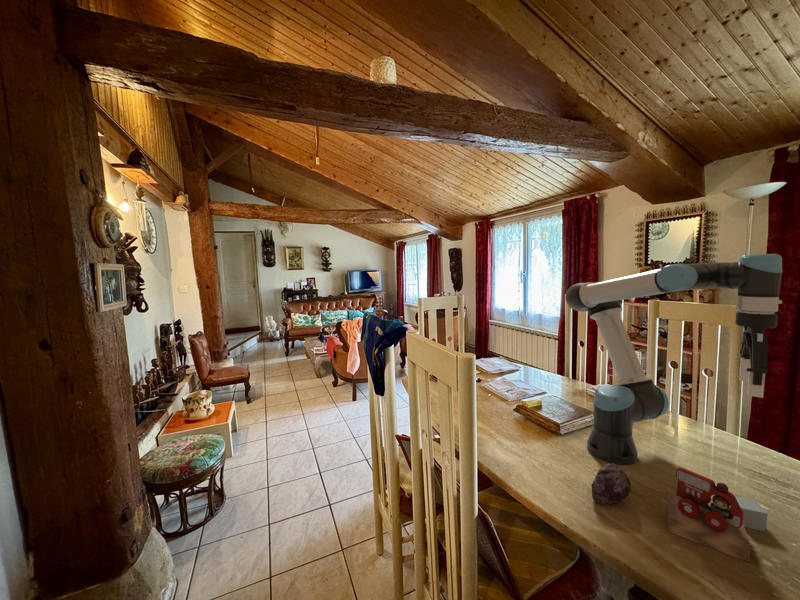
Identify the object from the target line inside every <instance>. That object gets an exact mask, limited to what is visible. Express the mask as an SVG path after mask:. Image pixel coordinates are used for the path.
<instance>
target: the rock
mask: <svg viewBox="0 0 800 600" xmlns="http://www.w3.org/2000/svg"><path fill="white" fill-rule="evenodd" d="M631 487H632V486H631V481H630V479H629V477H628V475H627V474H626V473H625V471H624V470H623V469H622V468H620V466H619V465H618V464H615V463H611V462H607V464H605V466H602V467H600V469H598V471H597V473H596V475H595V477H594V480H593V481H592V483H591V498H592V499H593V501H595V502H596V503H598V504H600V505H602V506H609V505H611V504H621V503H622V501H623V500H626V499H627V498H628V497H629V495H630V492H631V491H632V488H631Z"/></svg>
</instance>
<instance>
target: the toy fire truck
mask: <svg viewBox="0 0 800 600" xmlns="http://www.w3.org/2000/svg"><path fill="white" fill-rule="evenodd" d="M675 478H676V479H677V485H676V495H675V497H676V498H677V499H678V500H679V501H678V508H679V510H680V511H681V512H682V513H683V514H684V515H686V516H687V517H690V518H696V517H697V516H698V515H699V514H700V511H701V512H703V513H706V514H705V515H704V519H705V522H706V523H707V525H708V526H709V527H711V528H712V529H714V530H716V531H719V532H725V531H726V530H727V529H728V524H729V525H731V526H733V527H736V528H740V527H741V526H742V524H743V516H744V513H743V511H742V510H741V507H740V505H739V504H738V501H737V500H736V498H735V496H736V495H735V494H733V493H732V492H730V491H729V487H728V485H727V484H725V483H724V482H718V483H716V482H715V481H714V480H713V479H711V478H709V477H706V476H704V475H703V474H699V473H696V472H694V471H692V470H689V469H686V468H684V467H678V468H676V470H675ZM729 506H731V508H730V507H729Z"/></svg>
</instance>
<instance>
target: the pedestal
mask: <svg viewBox="0 0 800 600" xmlns="http://www.w3.org/2000/svg"><path fill="white" fill-rule="evenodd" d="M678 501H679V500H678V499H677V498H676V495H675V496H674V495H672V494H667V504H666V506H667V507H666V512H667V514H666V515H667V529H668V530H667V532H668V533H671V534H673V535H676V536H680V537H682V538H684V539H687V540H690V541H692V542H695V543H698V544H701V545H703V546H705V547H707V548H711V549H714V550H717V551H718V552H722V553H724V554H727V555H728V556H729V555H730V556H732V557H734V558H737V559H740V560H742V561H744V562H748V563H750V557H751V555H750V554H751V544H750V543H751V542H750V540H749V537H748V535H747V531H746V527H744V525H743V524H742V526H741V527H740V528H736V527H733V526H731V525H729V524H728V529H727V530H726V531H725V532H719V531H716V530H714V529H712V528H711V527H709V526H708V525H707V523H706V522H705V519H704V515H705V514H706V513H703V512H701V511H700V514H699V515H698V516H697V517H696V518H690V517H687V516H686V515H684V514H683V513H682V512H681V511H680V510H679V508H678Z"/></svg>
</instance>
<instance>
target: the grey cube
mask: <svg viewBox="0 0 800 600" xmlns="http://www.w3.org/2000/svg"><path fill="white" fill-rule="evenodd" d="M734 496H735V498H736V500H737V501H738V504H739V505H740V507H741V510H742V511H743V513H744V516H743V525H744V528H747V529H751V530H752V529H753V530H756V531H762V532H765V533H766V532H767V523H768V522H767V520H768V512H767V511H766V510H765V509H764V508H763V507H762V506H761V505H760V504H759V502H758V501H757V500H756V499H751V498H746V497H741V496H738V495H737V496H736V495H734ZM729 507H730V508H731V506H729Z"/></svg>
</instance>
